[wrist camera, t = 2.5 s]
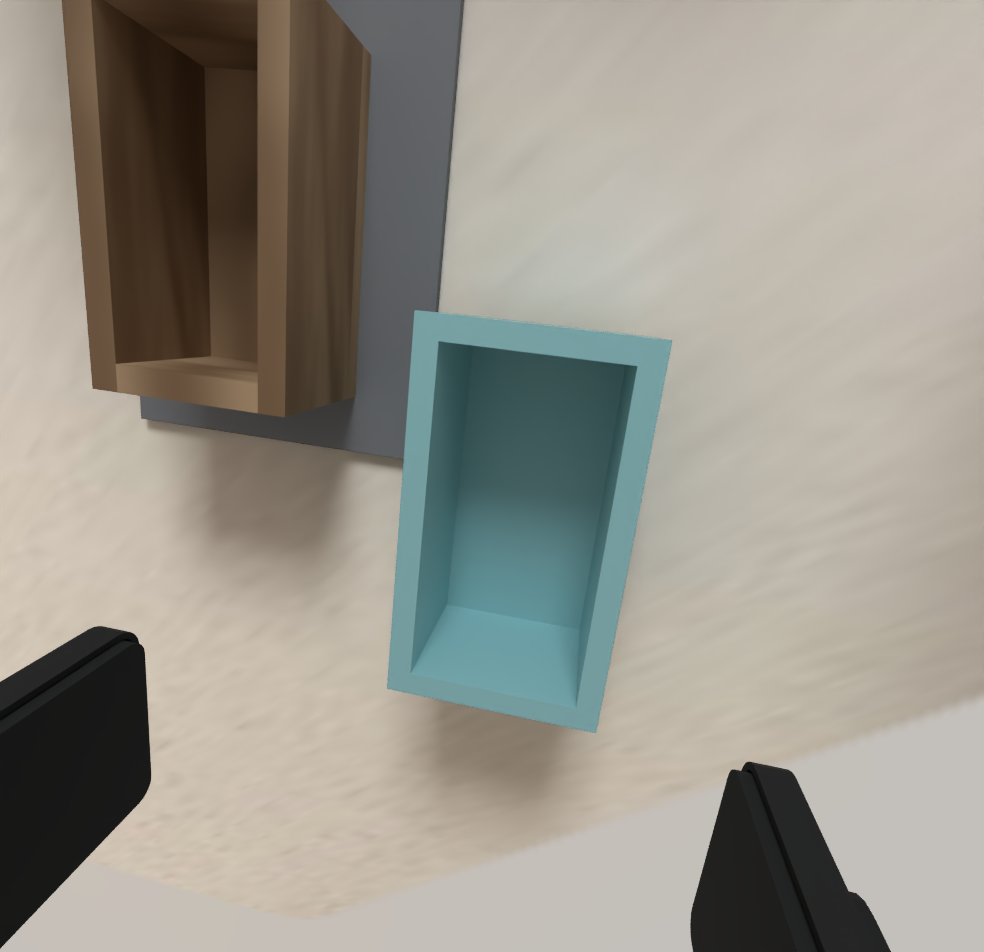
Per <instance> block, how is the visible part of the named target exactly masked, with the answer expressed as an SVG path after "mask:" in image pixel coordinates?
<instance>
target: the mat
mask: <svg viewBox="0 0 984 952" xmlns="http://www.w3.org/2000/svg"><path fill="white" fill-rule="evenodd" d="M326 1H327V2H328V3H329V5H330V6H331V7H332V8H333V9H334V11H335V12H336V13H337V14H338V16H339V17H340V18H341V19H342V20H343V22H344V23H345V24H346V25H347V26H348V28H349V29H350V30H351V31H352V33H353V34H354V35H355V36H356V37H357V39H358V40H359V41H360V42H361V43H362V45H363V46H364V47H365V48H366V50H367V51H368V52H369V53H370V54H371V74H370V96H369V117H368V138H367V160H366V181H365V202H364V223H363V245H362V266H361V287H360V309H359V330H358V351H357V373H356V394H355V397H352V398H349V399H345V400H342V401H339V402H335V403H332V404H328V405H325V406H322V407H318V408H315V409H311V410H308V411H305V412H301V413H298V414H294V415H291V416H288V417H279V416H272V415H266V414H259V413H252V412H246V411H239V410H232V409H226V408H219V407H212V406H206V405H199V404H192V403H186V402H179V401H172V400H166V399H159V398H152V397H146V396H140V402H141V418H142V419H149V420H155V421H161V422H168V423H174V424H181V425H187V426H193V427H200V428H206V429H213V430H219V431H225V432H232V433H238V434H245V435H251V436H257V437H264V438H270V439H277V440H283V441H289V442H296V443H302V444H309V445H315V446H321V447H328V448H334V449H341V450H347V451H353V452H360V453H366V454H373V455H379V456H386V457H392V458H398V459H404V449H405V435H406V421H407V407H408V394H409V380H410V366H411V352H412V338H413V325H414V311H415V310H418V311H429V312H438V303H439V291H440V279H441V267H442V255H443V243H444V231H445V219H446V207H447V195H448V183H449V171H450V159H451V147H452V135H453V123H454V111H455V99H456V87H457V75H458V63H459V51H460V39H461V27H462V15H463V3H464V0H326Z"/></svg>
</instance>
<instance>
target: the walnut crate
mask: <svg viewBox="0 0 984 952" xmlns="http://www.w3.org/2000/svg"><path fill="white" fill-rule="evenodd" d="M62 8H63V21H64V33H65V46H66V58H67V71H68V84H69V96H70V109H71V121H72V134H73V147H74V159H75V172H76V184H77V197H78V209H79V222H80V235H81V247H82V260H83V272H84V285H85V297H86V310H87V323H88V335H89V348H90V360H91V373H92V385H93V389H99V390H106V391H112V392H119V393H126V394H132V395H139V396H146V397H152V398H159V399H166V400H172V401H179V402H186V403H192V404H199V405H206V406H212V407H219V408H226V409H232V410H239V411H246V412H252V413H259V414H266V415H272V416H279V417H288V416H291V415H294V414H298V413H301V412H305V411H308V410H311V409H315V408H318V407H322V406H325V405H328V404H332V403H335V402H339V401H342V400H345V399H349V398H352V397H355V394H356V373H357V351H358V330H359V309H360V287H361V266H362V245H363V223H364V202H365V181H366V160H367V138H368V117H369V96H370V74H371V54H370V53H369V52H368V51H367V50H366V48H365V47H364V46H363V45H362V43H361V42H360V41H359V40H358V39H357V37H356V36H355V35H354V34H353V33H352V31H351V30H350V29H349V28H348V26H347V25H346V24H345V23H344V22H343V20H342V19H341V18H340V17H339V16H338V14H337V13H336V12H335V11H334V9H333V8H332V7H331V6H330V5H329V3H328V2H327V1H326V0H62Z"/></svg>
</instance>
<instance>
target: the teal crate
mask: <svg viewBox="0 0 984 952" xmlns="http://www.w3.org/2000/svg"><path fill="white" fill-rule="evenodd" d="M671 345H672V340H666V339H660V338H655V337H648V336H639V335H631V334H622V333H614V332H605V331H597V330H588V329H580V328H571V327H563V326H554V325H546V324H538V323H529V322H521V321H512V320H504V319H495V318H487V317H478V316H470V315H461V314H451V313H440V312H429V311H418V310H415V311H414V325H413V338H412V352H411V366H410V380H409V394H408V407H407V421H406V435H405V449H404V463H403V476H402V490H401V504H400V518H399V532H398V545H397V559H396V573H395V587H394V601H393V614H392V628H391V642H390V656H389V670H388V683H387V689H391V690H396V691H400V692H405V693H410V694H414V695H419V696H424V697H428V698H433V699H438V700H442V701H447V702H452V703H456V704H461V705H466V706H471V707H475V708H480V709H485V710H489V711H494V712H499V713H503V714H508V715H513V716H517V717H522V718H527V719H531V720H536V721H541V722H545V723H550V724H555V725H560V726H564V727H569V728H574V729H578V730H583V731H588V732H592V733H596V731H597V726H598V721H599V715H600V710H601V705H602V700H603V695H604V690H605V685H606V679H607V674H608V669H609V664H610V659H611V654H612V649H613V643H614V638H615V633H616V628H617V623H618V618H619V612H620V607H621V602H622V597H623V592H624V587H625V582H626V576H627V571H628V566H629V561H630V556H631V551H632V545H633V540H634V535H635V530H636V525H637V520H638V515H639V509H640V504H641V499H642V494H643V489H644V484H645V479H646V473H647V468H648V463H649V458H650V453H651V448H652V442H653V437H654V432H655V427H656V422H657V417H658V412H659V406H660V401H661V396H662V391H663V386H664V381H665V376H666V370H667V365H668V360H669V355H670V350H671Z"/></svg>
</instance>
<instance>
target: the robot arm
mask: <svg viewBox="0 0 984 952" xmlns="http://www.w3.org/2000/svg"><path fill="white" fill-rule="evenodd" d="M150 781H151V762H150V743H149V724H148V705H147V686H146V667H145V652H144V648H143V646H142V645H140V644H139V641H138V638H137V637H136V635H135V634H133V633H131V632H127V631H122V630H117V629H112V628H107V627H103V626H97V627H93V628H91V629H89V630H87V631H85V632H84V633H82V634H80V635H79V636H77V637H75V638H73V639H72V640H70V641H68V642H67V643H65V644H63V645H62V646H60V647H58V648H57V649H55V650H53V651H52V652H50V653H48V654H47V655H45V656H43V657H41V658H40V659H38V660H36V661H35V662H33V663H31V664H30V665H28V666H26V667H25V668H23V669H21V670H20V671H18V672H16V673H15V674H13V675H11V676H9V677H8V678H6V679H4V680H3V681H1V682H0V948H1V947H2V946H3V945H4V944H5V943H6V942H7V941H8V940H9V939H10V938H11V937H12V936H13V935H14V934H15V933H16V931H17V930H18V929H19V928H20V927H21V926H22V925H23V924H24V923H25V922H26V921H27V920H28V919H29V918H30V917H31V916H32V915H33V914H34V913H35V912H36V911H37V909H38V908H39V907H40V906H41V905H42V904H43V903H44V902H45V901H46V900H47V899H48V898H49V897H50V896H51V895H52V894H53V893H54V892H55V891H56V890H57V888H59V886H60V885H61V884H62V883H63V882H64V881H65V880H66V879H67V878H68V877H69V876H70V875H71V874H72V873H73V872H74V871H75V870H76V869H77V868H78V867H79V865H80V864H81V863H82V862H83V861H84V860H85V859H86V858H87V857H88V856H89V855H90V854H91V853H92V852H93V851H94V850H95V849H96V848H97V847H98V846H99V845H100V844H101V843H102V841H103V840H104V839H105V838H106V837H107V836H108V835H109V834H110V833H111V832H112V831H113V830H114V829H115V828H116V827H117V826H118V825H119V824H120V823H121V822H122V821H123V819H124V818H125V817H126V816H127V815H128V814H129V813H130V812H131V811H132V810H133V809H134V808H135V807H136V806H137V805H138V804H139V803H140V801H141V800H142V799H143V797H144V796H145V794H146V792H147V790H148V788H149V785H150ZM691 941H692V947H693V952H891V951H890V949H889V947H888V945H887V943H886V941H885V939H884V937H883V935H882V932H881V930H880V928H879V926H878V924H877V922H876V920H875V918H874V916H873V915H872V913H871V911H870V909H869V908H868V906H867V905H866V903H865V901H864V900H863V899H862V898H861V897H860V896H859V895H857V894H856V893H853V892H849V891H848V889H847V887H846V885H845V883H844V881H843V879H842V876H841V874H840V872H839V870H838V868H837V866H836V863H835V861H834V859H833V857H832V855H831V853H830V851H829V848H828V846H827V844H826V842H825V840H824V838H823V836H822V833H821V831H820V829H819V827H818V825H817V822H816V820H815V818H814V816H813V814H812V812H811V809H810V808H809V805H808V803H807V801H806V799H805V797H804V794H803V792H802V790H801V788H800V786H799V784H798V781H797V779H796V777H795V776H794V774H793V773H792V772H791V771H789V770H787V769H782V768H777V767H773V766H768V765H763V764H758V763H753V762H746V763H745V765H744V766H743V768H742V771H739V770H731V771H730V773H729V775H728V778H727V782H726V786H725V790H724V793H723V797H722V801H721V804H720V808H719V812H718V816H717V819H716V823H715V826H714V830H713V834H712V837H711V841H710V845H709V848H708V852H707V856H706V859H705V863H704V867H703V870H702V874H701V878H700V881H699V885H698V889H697V893H696V896H695V900H694V903H693V907H692V912H691Z"/></svg>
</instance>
